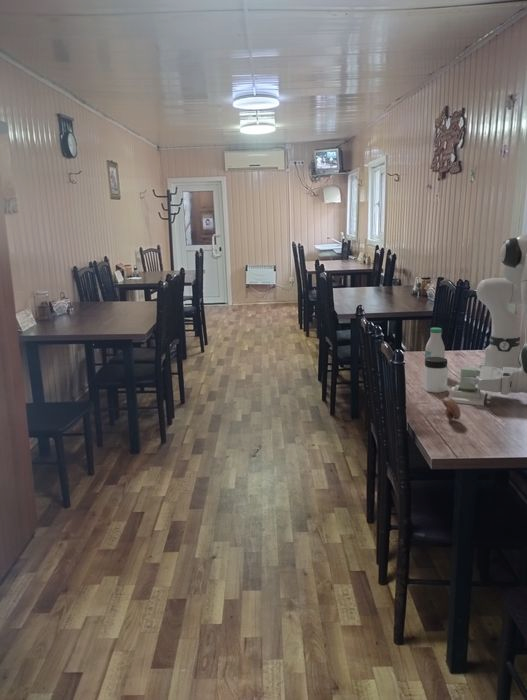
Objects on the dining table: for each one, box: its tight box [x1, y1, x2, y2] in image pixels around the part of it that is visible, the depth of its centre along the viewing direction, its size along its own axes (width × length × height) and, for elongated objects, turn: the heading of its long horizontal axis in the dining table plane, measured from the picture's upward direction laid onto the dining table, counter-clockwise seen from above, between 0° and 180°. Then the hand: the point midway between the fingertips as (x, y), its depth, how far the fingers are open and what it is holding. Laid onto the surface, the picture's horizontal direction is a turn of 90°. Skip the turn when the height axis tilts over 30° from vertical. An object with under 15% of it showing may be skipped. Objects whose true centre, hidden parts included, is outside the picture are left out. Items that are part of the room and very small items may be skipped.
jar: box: [422, 357, 449, 394], centre depth 214 cm, size 9×8×12 cm
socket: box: [447, 384, 487, 406], centre depth 205 cm, size 16×12×3 cm
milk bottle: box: [424, 327, 446, 359], centre depth 232 cm, size 8×8×20 cm
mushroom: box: [441, 396, 461, 422], centre depth 181 cm, size 8×6×8 cm
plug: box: [459, 365, 478, 392], centre depth 204 cm, size 5×5×11 cm
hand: (465, 375), depth 204 cm, fingers open, 8 cm apart
